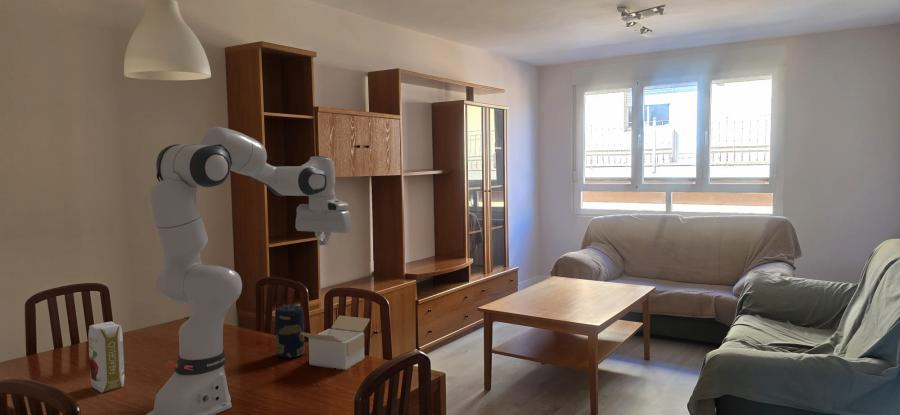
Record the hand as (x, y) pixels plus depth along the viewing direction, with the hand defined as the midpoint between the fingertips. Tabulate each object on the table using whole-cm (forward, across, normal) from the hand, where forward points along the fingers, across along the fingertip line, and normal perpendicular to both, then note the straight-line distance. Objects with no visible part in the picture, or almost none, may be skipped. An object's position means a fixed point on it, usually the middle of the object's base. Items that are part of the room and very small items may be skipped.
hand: (323, 245), depth 197 cm
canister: (+39, -13, -2) cm, 41 cm away
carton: (+39, +6, -2) cm, 40 cm away
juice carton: (+39, -46, -46) cm, 76 cm away
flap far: (+28, +6, +7) cm, 30 cm away
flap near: (+28, +6, -11) cm, 31 cm away
